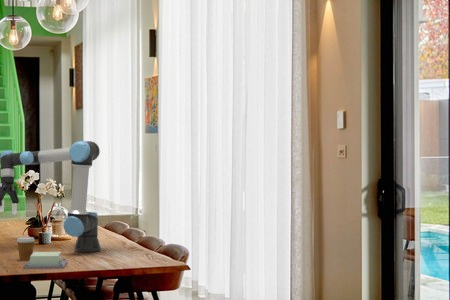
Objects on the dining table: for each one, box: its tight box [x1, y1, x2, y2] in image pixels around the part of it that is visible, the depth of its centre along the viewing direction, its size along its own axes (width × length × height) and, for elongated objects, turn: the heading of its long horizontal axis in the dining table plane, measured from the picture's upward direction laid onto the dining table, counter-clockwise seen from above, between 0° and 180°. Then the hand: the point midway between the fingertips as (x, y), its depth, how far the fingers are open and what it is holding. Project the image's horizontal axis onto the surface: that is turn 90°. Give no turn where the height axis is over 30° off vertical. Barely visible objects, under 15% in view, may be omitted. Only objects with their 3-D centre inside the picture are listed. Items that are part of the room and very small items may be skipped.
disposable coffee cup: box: [16, 236, 36, 262], centre depth 418 cm, size 10×10×12 cm
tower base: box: [22, 251, 68, 270], centre depth 401 cm, size 20×20×6 cm
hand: (8, 213), depth 444 cm, fingers open, 13 cm apart
